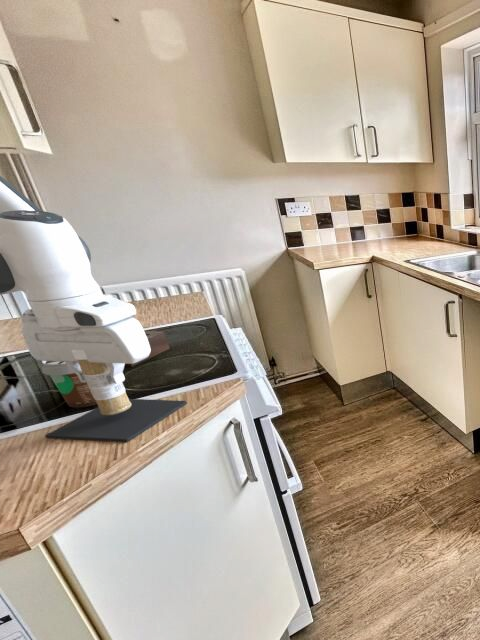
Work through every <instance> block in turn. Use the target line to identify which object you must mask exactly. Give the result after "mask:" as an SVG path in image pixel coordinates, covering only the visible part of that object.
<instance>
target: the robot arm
mask: <svg viewBox="0 0 480 640" xmlns="http://www.w3.org/2000/svg"><path fill="white" fill-rule="evenodd" d="M91 262H92V255H91V251H90V248H89V246H88V244H86V241H84V239H83V238H82V237H81V236H80V235H78V234H77V232H76V231H75V229H74V228H73V226H72V225H71V223H70V222H69V221H68V220H67V219H66V218H65V217H64V216H62V215H59V214H57V213H54V212H49V211H43V210H42V209H41V208H40V207H39V206H37V205H36V204H35V203H33V201H31V200H30V199H29V198H28V197H27V196H25V195H24V194H23V193H22V192H20V191H19V190H18V189H17V188H15V186H13V185H12V184H11V183H10V182H9V181H7V180H6V179H5V178H4V177H3V176H2V175H0V296H3V295H8V294H12V293H15V292H16V293H17V292H23V293H24V294H25V297H26V301H27V303H28V304H29V306H30V308H28V309H26V310H24V312H23V313H22V314H21V316H20V319H21V322H22V325H21V332H22V336H23V339H24V341H25V342H24V343H25V345H26V348H27V350H28V352H29V354H30V356H31V357H32V358H34V359H35V360H37V361H38V362H42V361H63V362H65V363H66V365H67V367H68V368H70V369H71V370H72V371H73V372H74V373H75V374H77V375H78V377H79V379H80V381H81V382H84V383H87V382H86V380H85V378H84V375H83V372H82V370H81V368H80V365H79V363H78V361H77V359H75V358H74V356H73V354H72V351H71V350H74V349H77V350H84V352H85V354H86V356H87V359H86V360H88V361H89V362H94V363H105V364H106V366H107V368H110V374H108V375H106V377H107V379H108V382H109V383H113V384H119V383H121V382H122V383H123V382H125V380H126V378H125V377H126V376H125V375H124V369H125V367H124V365H125V364H133V363H136V362H139V361H141V360H143V359H145V358H147V357H148V356H149V354H150V352H151V349H150V345H149V342H148V339H147V337H146V334H145V332H144V331H145V329H144V328H143V326H142V324H141V323H140V321H139V320H138V319H136V318H135V317H133V316H136V315H137V310H136V307H135V306H134V305H133V304H132V303H130V302H127V301H124V300H121V299H118V298H115V297H114V296H110V295H109V294H106V293H103V291H102V289H101V287H100V284H99V283H97V281H96V280H95V279H94V277H93V275H92V271H91Z"/></svg>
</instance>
